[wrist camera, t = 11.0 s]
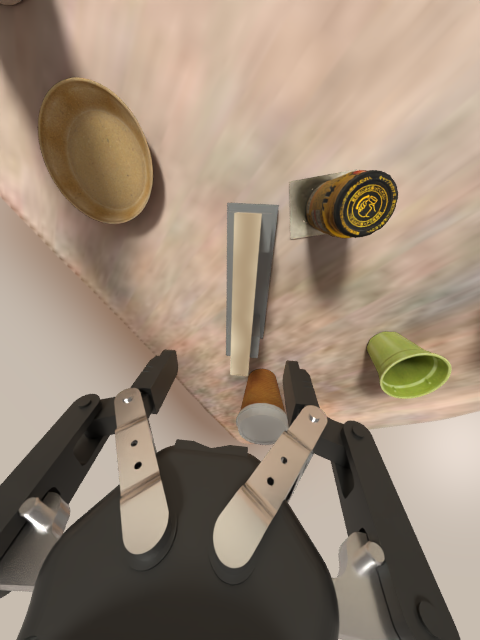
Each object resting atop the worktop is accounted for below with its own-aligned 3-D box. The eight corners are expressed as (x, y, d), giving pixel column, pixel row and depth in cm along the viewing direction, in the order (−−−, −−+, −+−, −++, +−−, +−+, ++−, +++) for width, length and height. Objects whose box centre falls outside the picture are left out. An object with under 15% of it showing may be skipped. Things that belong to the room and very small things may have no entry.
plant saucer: (36, 90, 25) (13, 78, 22) (149, 87, 24) (137, 74, 21) (80, 222, 32) (66, 222, 30) (168, 224, 31) (161, 225, 29)
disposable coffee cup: (250, 357, 42) (247, 406, 32) (291, 371, 43) (301, 423, 32) (235, 386, 47) (228, 437, 36) (272, 398, 47) (276, 451, 37)
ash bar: (233, 356, 31) (230, 374, 28) (238, 212, 22) (234, 212, 18) (249, 357, 31) (247, 376, 28) (261, 213, 21) (261, 214, 18)
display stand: (227, 331, 39) (219, 359, 32) (228, 203, 29) (218, 200, 21) (262, 334, 39) (263, 363, 31) (277, 205, 28) (284, 203, 21)
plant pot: (421, 345, 37) (462, 380, 29) (372, 370, 41) (398, 406, 33) (396, 313, 34) (435, 342, 27) (347, 343, 38) (368, 375, 31)
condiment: (349, 230, 29) (400, 242, 19) (290, 239, 30) (306, 254, 20) (355, 169, 26) (422, 141, 15) (288, 181, 27) (307, 163, 16)
